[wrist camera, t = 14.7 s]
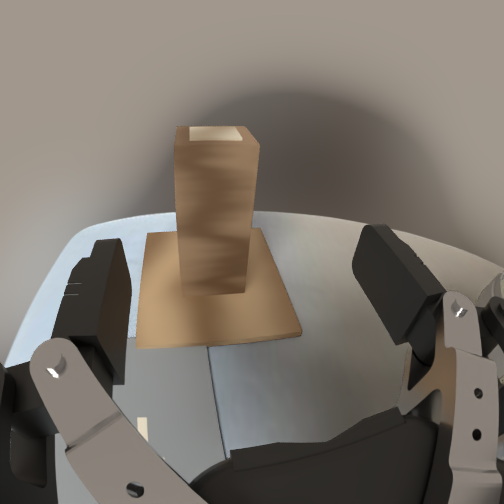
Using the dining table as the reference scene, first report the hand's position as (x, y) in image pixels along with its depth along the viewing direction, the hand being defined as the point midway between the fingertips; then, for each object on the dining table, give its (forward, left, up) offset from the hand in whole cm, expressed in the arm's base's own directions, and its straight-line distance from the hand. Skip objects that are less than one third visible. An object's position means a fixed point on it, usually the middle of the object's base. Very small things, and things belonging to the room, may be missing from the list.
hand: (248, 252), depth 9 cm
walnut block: (0, -12, -11) cm, 16 cm away
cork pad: (0, -12, -12) cm, 17 cm away
